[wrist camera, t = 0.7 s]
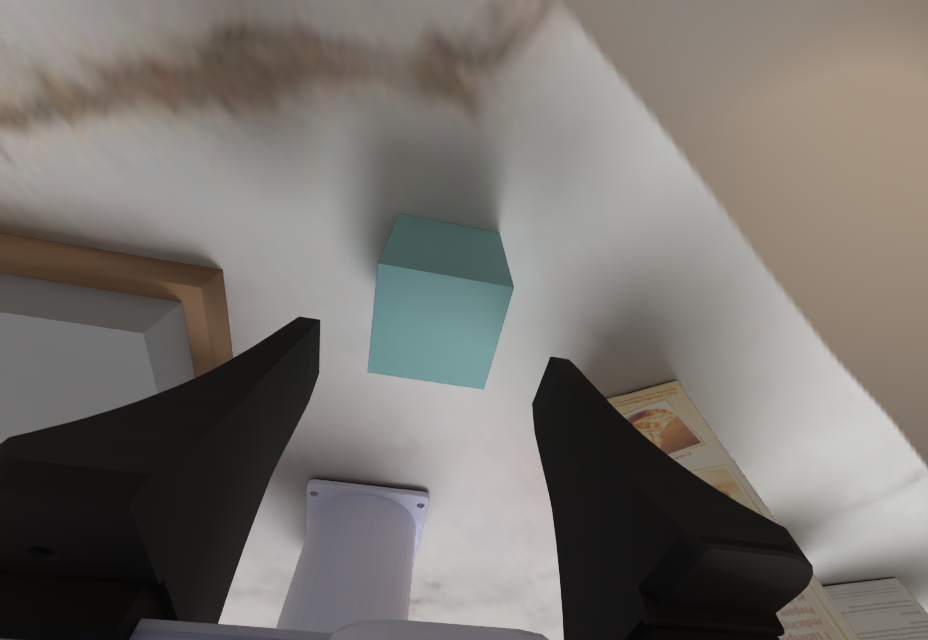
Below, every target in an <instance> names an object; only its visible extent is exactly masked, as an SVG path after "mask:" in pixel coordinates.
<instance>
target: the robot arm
mask: <svg viewBox="0 0 928 640" xmlns="http://www.w3.org/2000/svg"><path fill="white" fill-rule="evenodd" d="M319 351H320V320H318V319H311V318H305V317H298V318H296V319H295V320H293V321H292V322H290V323H289V324H287V325H286V326H284V327H282V328H281V329H279V330H278V331H276V332H275V333H273V334H272V335H270V336H269V337H267V338H266V339H264V340H263V341H261V342H260V343H258V344H256V345H255V346H253V347H252V348H250V349H248V350H247V351H245V352H243V353H241V354H240V355H238V356H236V357H234V358H233V359H231V360H229V361H227V362H226V363H224V364H222V365H220V366H218V367H216V368H215V369H213V370H211V371H209V372H207V373H205V374H203V375H200V376H198V377H196V378H194V379H192V380H189V381H187V382H185V383H183V384H180V385H178V386H176V387H173V388H171V389H168V390H165V391H163V392H160V393H158V394H155V395H152V396H150V397H147V398H145V399H142V400H140V401H137V402H134V403H131V404H128V405H125V406H122V407H119V408H116V409H113V410H110V411H106V412H103V413H100V414H96V415H93V416H90V417H87V418H83V419H79V420H76V421H72V422H68V423H64V424H60V425H56V426H52V427H48V428H44V429H40V430H36V431H33V432H29V433H25V434H20V435H16V436H11V437H8V438H7V439H6V440H5V441H3V442H2V443H1V444H0V640H549V639H547V638H546V637H545V636H544V635H542V634H538V633H533V632H529V631H524V630H520V629H509V628H496V627H484V626H471V625H459V624H446V623H434V622H421V621H409V620H408V612H409V601H410V590H411V579H412V569H413V563H414V559H415V555H416V551H417V547H418V543H419V539H420V535H421V531H422V527H423V523H424V519H425V515H426V511H427V507H428V503H429V495H428V494H427V493H426V492H422V491H413V490H404V489H396V488H387V487H378V486H370V485H361V484H352V483H344V482H335V481H326V480H318V479H313V480H310V481H309V482H308V485H307V487H306V539H305V542H304V545H303V548H302V551H301V554H300V557H299V560H298V563H297V566H296V569H295V572H294V575H293V578H292V581H291V584H290V587H289V590H288V593H287V596H286V599H285V602H284V605H283V608H282V611H281V614H280V618H279V621H278V624H277V627H276V628H264V627H250V626H237V625H223V624H218V622H219V619H220V616H221V613H222V610H223V607H224V604H225V601H226V598H227V595H228V592H229V589H230V586H231V583H232V580H233V577H234V574H235V571H236V569H237V566H238V563H239V560H240V557H241V554H242V552H243V549H244V546H245V543H246V540H247V538H248V535H249V532H250V530H251V527H252V524H253V522H254V519H255V516H256V514H257V511H258V508H259V506H260V503H261V501H262V498H263V496H264V493H265V490H266V488H267V485H268V483H269V480H270V478H271V476H272V473H273V471H274V469H275V467H276V465H277V463H278V461H279V459H280V457H281V455H282V453H283V451H284V449H285V447H286V445H287V443H288V441H289V440H290V438H291V436H292V434H293V432H294V430H295V428H296V426H297V424H298V422H299V420H300V418H301V416H302V414H303V412H304V410H305V408H306V406H307V404H308V402H309V400H310V397H311V395H312V392H313V389H314V386H315V383H316V380H317V378H318V375H319ZM532 407H533V420H534V429H535V436H536V440H537V445H538V449H539V453H540V458H541V462H542V466H543V470H544V475H545V479H546V483H547V487H548V492H549V496H550V501H551V506H552V512H553V520H554V528H555V536H556V544H557V554H558V564H559V574H560V586H561V599H562V612H563V630H564V640H780V639H779V638H778V636H782V635H784V634H785V631H784V627H783V626H782V624H781V622H780V621H779V619H778V617H777V615H776V613H777V612H778V611H779V610H781V609H782V608H783V607H784V606H786V605H787V604H788V603H789V602H791V601H792V600H793V599H794V598H796V597H797V596H798V595H799V594H801V593H802V592H803V591H804V590H805V589H806V588H807V587H808V585H809V583H810V581H811V579H812V576H813V568H812V565H811V564H810V562H809V561H808V559H807V558H806V556H805V555H804V554H803V552H802V551H801V549H800V548H799V547H798V545H797V544H796V542H795V541H794V539H793V538H792V537H791V535H790V534H789V532H788V531H787V530H786V529H785V528H784V527H782V526H780V525H779V524H777V523H775V522H773V521H771V520H770V519H768V518H766V517H764V516H762V515H760V514H759V513H757V512H755V511H753V510H751V509H749V508H748V507H746V506H744V505H742V504H740V503H739V502H737V501H735V500H734V499H732V498H731V497H729V496H727V495H726V494H724V493H722V492H721V491H719V490H718V489H716V488H714V487H713V486H711V485H710V484H708V483H707V482H705V481H704V480H702V479H701V478H699V477H698V476H696V475H695V474H693V473H692V472H690V471H689V470H688V469H686V468H685V467H684V466H682V465H681V464H679V463H678V462H677V461H675V460H674V459H672V458H671V457H670V456H669V455H667V454H666V453H665V452H663V451H662V450H661V449H660V448H659V447H657V446H656V445H655V444H654V443H652V442H651V441H650V440H649V439H648V438H646V437H645V436H644V435H643V434H642V433H641V432H640V431H638V430H637V429H636V428H635V427H634V426H633V425H632V424H631V423H630V422H629V421H628V420H627V419H626V418H625V417H623V416H622V415H621V414H620V413H619V412H618V411H617V410H616V409H615V408H614V407H613V406H612V405H611V404H610V403H609V402H608V400H607V399H606V398H605V397H604V396H603V395H602V394H601V393H600V392H599V391H598V390H597V389H596V388H595V387H594V386H593V384H592V383H591V382H590V381H589V380H588V379H587V378H586V377H585V376H584V375H583V374H582V372H581V371H580V370H579V369H578V368H577V367H576V366H575V365H574V364H573V363H572V362H571V361H570V360H569V359H562V358H556V357H550V359H549V362H548V365H547V367H546V370H545V372H544V375H543V377H542V380H541V383H540V385H539V388H538V390H537V393H536V396H535V398H534V401H533V403H532Z"/></svg>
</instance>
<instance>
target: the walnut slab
mask: <svg viewBox="0 0 928 640" xmlns="http://www.w3.org/2000/svg"><path fill="white" fill-rule="evenodd" d="M0 273H1V274H8V275H14V276H20V277H27V278H33V279H39V280H46V281H52V282H58V283H64V284H71V285H77V286H83V287H90V288H96V289H102V290H108V291H115V292H121V293H127V294H134V295H140V296H146V297H152V298H159V299H165V300H171V301H178V302H182V307H183V312H184V318H185V323H186V329H187V334H188V340H189V345H190V351H191V356H192V362H193V367H194V373H195V378H196V377H198V376H200V375H203V374H205V373H207V372H209V371H211V370H213V369H215V368H216V367H218V366H220V365H222V364H224V363H226V362H227V361H229V360H231V359H233V353H232V345H231V336H230V328H229V319H228V311H227V302H226V294H225V285H224V277H223V270H219V269H213V268H207V267H201V266H195V265H189V264H183V263H177V262H171V261H165V260H159V259H153V258H147V257H141V256H135V255H129V254H123V253H117V252H111V251H105V250H99V249H93V248H87V247H81V246H75V245H69V244H63V243H57V242H51V241H45V240H39V239H33V238H27V237H21V236H15V235H9V234H3V233H0Z"/></svg>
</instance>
